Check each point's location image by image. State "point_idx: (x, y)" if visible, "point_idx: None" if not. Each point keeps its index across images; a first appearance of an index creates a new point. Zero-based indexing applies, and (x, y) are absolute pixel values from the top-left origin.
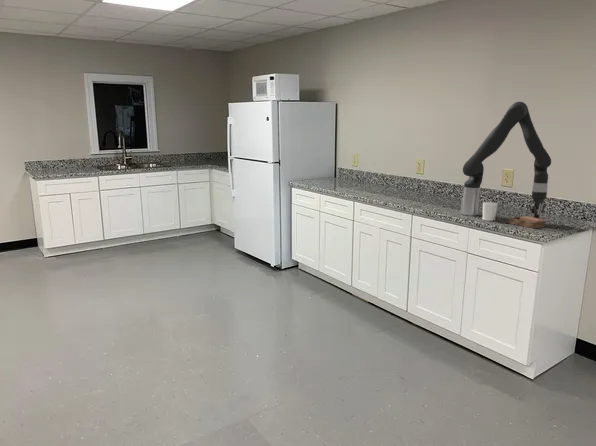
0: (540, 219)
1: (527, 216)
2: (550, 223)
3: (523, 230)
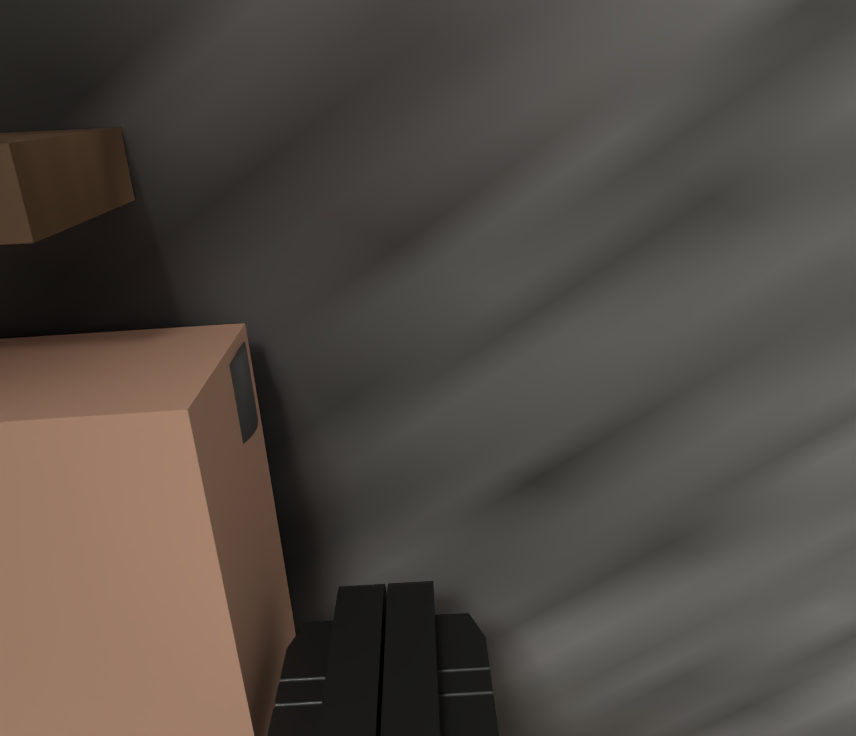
0: None
1: (161, 462)
2: (761, 708)
3: None
